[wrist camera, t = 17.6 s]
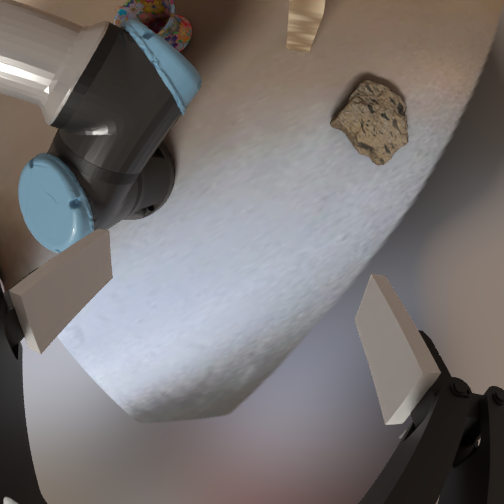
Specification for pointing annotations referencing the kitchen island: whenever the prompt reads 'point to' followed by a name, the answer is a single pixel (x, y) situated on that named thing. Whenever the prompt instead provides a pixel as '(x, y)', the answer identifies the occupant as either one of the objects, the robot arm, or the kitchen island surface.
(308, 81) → the kitchen island surface
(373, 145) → the rock
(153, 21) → the mug
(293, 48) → the tall wooden block
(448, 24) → the kitchen island surface
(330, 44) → the kitchen island surface
